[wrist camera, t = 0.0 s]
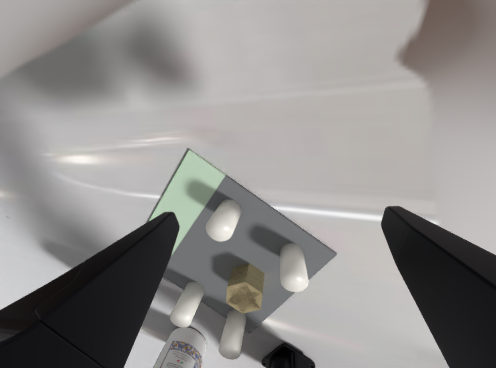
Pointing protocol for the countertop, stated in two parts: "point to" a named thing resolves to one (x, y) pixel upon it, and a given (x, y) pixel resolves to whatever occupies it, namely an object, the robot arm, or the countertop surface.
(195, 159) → the mat
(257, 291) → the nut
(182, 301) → the cylinder
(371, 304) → the countertop surface
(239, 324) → the cylinder
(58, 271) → the countertop surface
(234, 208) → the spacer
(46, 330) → the robot arm
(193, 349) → the bath foam
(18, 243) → the countertop surface
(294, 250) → the cylinder
